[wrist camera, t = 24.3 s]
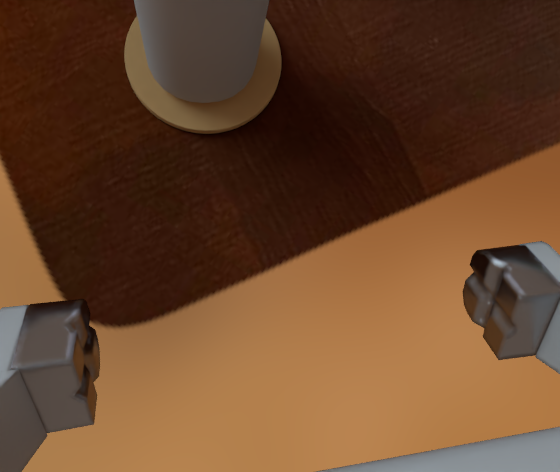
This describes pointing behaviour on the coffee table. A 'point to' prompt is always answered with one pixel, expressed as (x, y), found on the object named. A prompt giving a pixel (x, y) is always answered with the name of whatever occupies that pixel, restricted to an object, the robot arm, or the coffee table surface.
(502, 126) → the coffee table surface
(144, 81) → the coaster
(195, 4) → the beverage can
